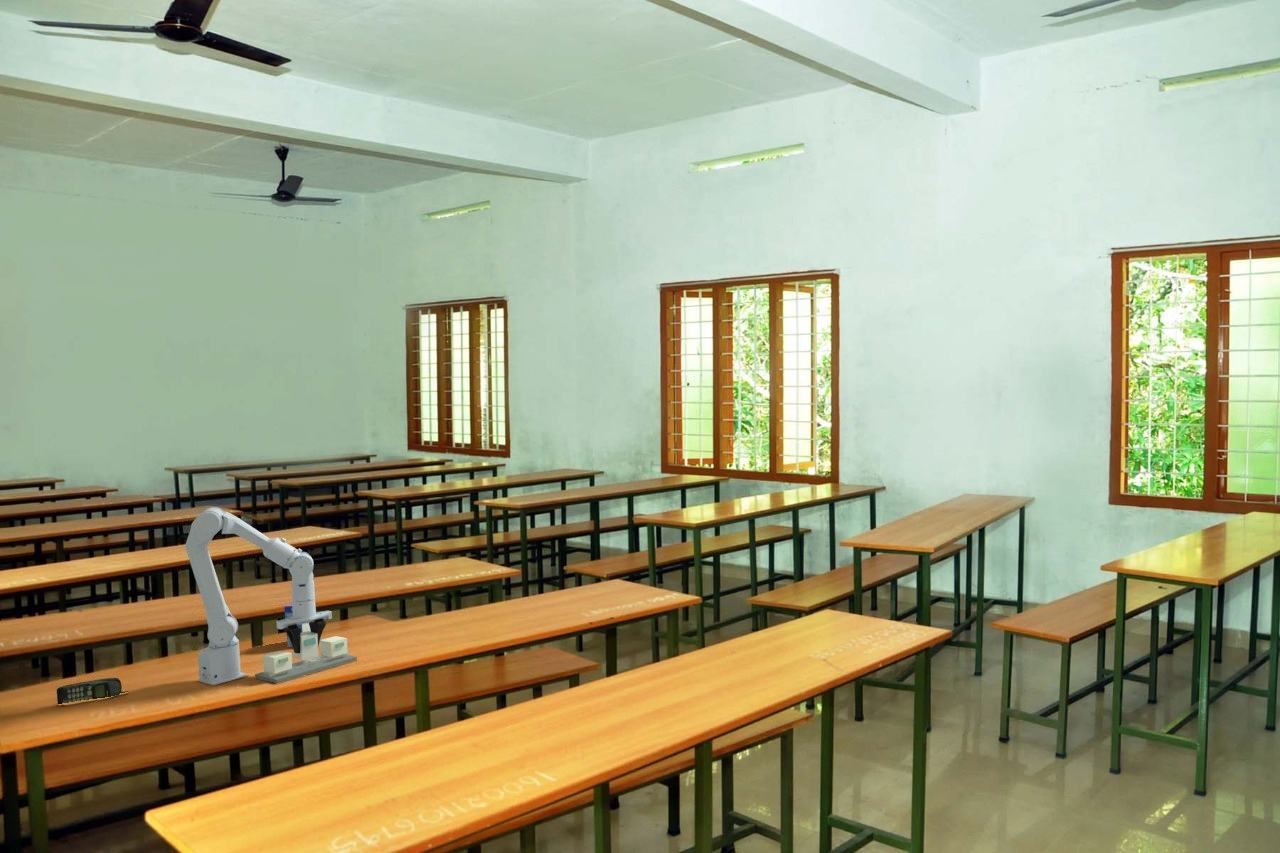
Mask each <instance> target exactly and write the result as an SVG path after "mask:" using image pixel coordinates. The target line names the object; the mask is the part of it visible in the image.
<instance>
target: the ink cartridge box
mask: <svg viewBox="0 0 1280 853" xmlns="http://www.w3.org/2000/svg"><path fill="white" fill-rule="evenodd" d="M283 607H284V619H286V618H289V617H293V608H292V602H291V603H289V604H287V605H285V606H283ZM316 608H317V607H316V605H315V609H316ZM316 610H317V609H316ZM297 626H298V628H300V629H301V633H302V632H306V631H310V626H309V623H305V624H300V625H297ZM310 632H311V631H310ZM286 643H287V648H293V646H292V643H291V641H290V639H289V637H288V635H287V634H286Z"/></svg>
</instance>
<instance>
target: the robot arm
mask: <svg viewBox="0 0 1280 853" xmlns="http://www.w3.org/2000/svg"><path fill="white" fill-rule="evenodd" d="M190 526H191V527H190V531H189V533H188V536H187V539H186V543H185V550H186V553H187V557H188V560H189V563H190V567H191V569H192V572H193V576H194V579H195V581H196V585H197V586H198V587H197V588H198V590H199V594H200V597H201V599H202V602H203V606H204V609H205V612H206V622H207V626H208V630H207V639H208V645H207V647H205V648H203V649H201V650H200V651H199V652H198V656H197V657H198V658H197V660H198V662H197V663H198V676H199V677H198V679H197V681H198V682H200V683H205V684H208V685H211V686H216V685H220V684H223V683H226V682H227V683H228V682H230V681H231V682H232V681H234V680H237V679H241V678H245V677H248V676H249V675H248V673H245V672H241V656H240V655H241V654H240V640H239V639H238V637H237V636H236V634H237V632H238V629H239V623H238V621H237V618H235V616H233V615H232V613H231V612H230V609H229V606H228V605H227V603H226V600H225V598H224V594H223V591H222V589H221V586H220V582H219V579H218V575H217V573H216V569H215V567H214V564H213V561H212V557H211V554H210V551H209V548H208V546H209V545H210V543H211V542H212V540H213V538H214V536H215V535H216V534H217V533H218V532H220V531H221V534H222V535H231V534H232V535H233V534H234V535H236V536H238V537H240V538H242V539H243V540H246V541H247V542H250V544H253V545H255V546H256V547H258V548H260V549H261V550H262V553H263V556H264V557H265V558H266V559H268V560H271V561H272V562H274V563H275V564H277V565H278V566H280V567H282V568H283V569H288V570H289V573H290V575H291V585H290V586H291V587H290V588H291V603H292V608H293V617H289V618H286V619H285V618H283V619H280V620H276V622H275V623H276V629H278V630H283V631H284V632H285V633H286V636H287V635H288V637H289V639H290V641H291V643H292V646H293V647H292V651H293V650H294V653H297V654H298V653H300V634H301V629H300V628H298V626H297V625H300V624H305V623H309V626H310V631H311V632H313V633H317V636H318V648H319V647H320V640H321V638H322V635H323V632H324V630H325V627H326V625H327V621H324V620H331V619H333V615H332V614H333V612H332V611H331V610H324V611H323V610H322V611H317V609H315V606H316V595H315V594H316V593H315V592H316V591H315V589H316V588H315V581H314V573H313V570H314V565H315V564H314V559H313V558H312V556H311V555H310V554H309V553H308V552H306V551H303V549H301V548H298V549H297V548H296V547H294V546H293V545H291V544H289V543H287V539H286V538H284V537H282V538H279V537H278V536H277V537H271V538H270V537H268V536H267V535H265V534H264V533H262V532H260V531H259V530H257V529H256V528H254V527H253V526H251V525H250V524H249V523H247V522H245V521H243V519H241V518H239V516H235V515H234V514H232V513H230V512H228V511H224V510H223V509H222V508H220V507H216V506H211V507H208V508H206V509H205V510H203V511H201V512H200V513H199V514H198V515H197V516H196V518H195V519H194V520H193V521H192V523H191V525H190Z"/></svg>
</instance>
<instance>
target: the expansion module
mask: <svg viewBox="0 0 1280 853" xmlns="http://www.w3.org/2000/svg"><path fill="white" fill-rule="evenodd" d="M292 653H293V654H292V657H293V658H295V659H299V660H301V661H304V660H307V659H311V658H314V657H318V656H320V655H319V647H318V636H317V633H313V632H310V631H306V632H302V633H301V634H300V653H298V654H297V653H294V650H293V649H292Z"/></svg>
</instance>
